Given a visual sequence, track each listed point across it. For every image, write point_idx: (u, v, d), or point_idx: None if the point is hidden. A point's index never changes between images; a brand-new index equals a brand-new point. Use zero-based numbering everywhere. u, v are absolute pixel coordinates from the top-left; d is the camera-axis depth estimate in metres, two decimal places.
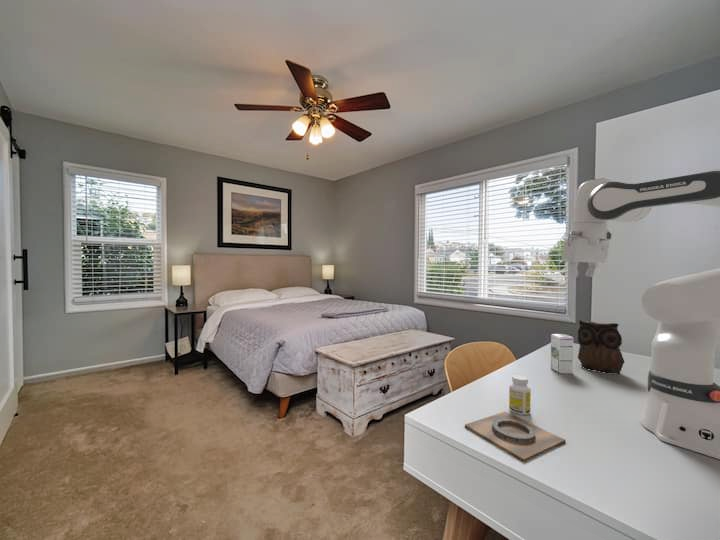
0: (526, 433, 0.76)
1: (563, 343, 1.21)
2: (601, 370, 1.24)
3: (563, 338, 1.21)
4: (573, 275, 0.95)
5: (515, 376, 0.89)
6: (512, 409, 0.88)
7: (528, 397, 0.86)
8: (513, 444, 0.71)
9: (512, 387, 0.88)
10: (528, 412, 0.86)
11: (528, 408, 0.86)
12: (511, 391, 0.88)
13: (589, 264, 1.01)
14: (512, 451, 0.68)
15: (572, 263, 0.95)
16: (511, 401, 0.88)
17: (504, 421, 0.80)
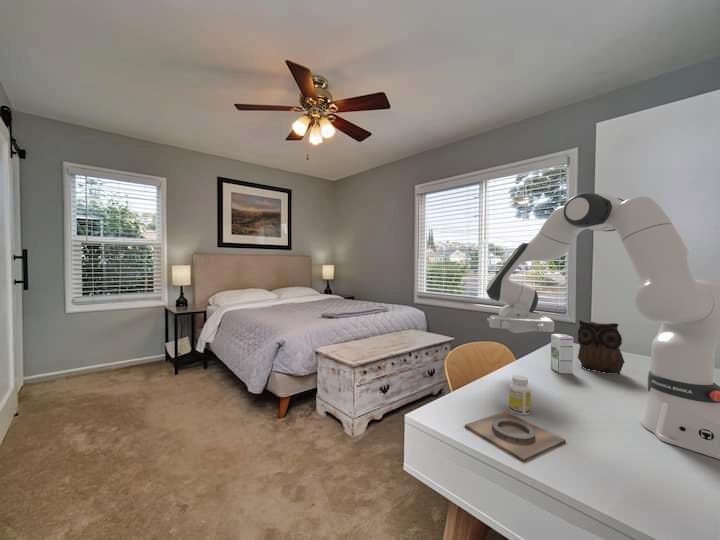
0: (526, 433, 0.76)
1: (563, 343, 1.21)
2: (601, 370, 1.24)
3: (563, 338, 1.21)
4: (506, 325, 1.03)
5: (515, 376, 0.89)
6: (512, 409, 0.88)
7: (528, 397, 0.86)
8: (513, 444, 0.71)
9: (512, 387, 0.88)
10: (528, 412, 0.86)
11: (528, 408, 0.86)
12: (511, 391, 0.88)
13: None
14: (512, 451, 0.68)
15: (501, 323, 1.07)
16: (511, 401, 0.88)
17: (504, 421, 0.80)
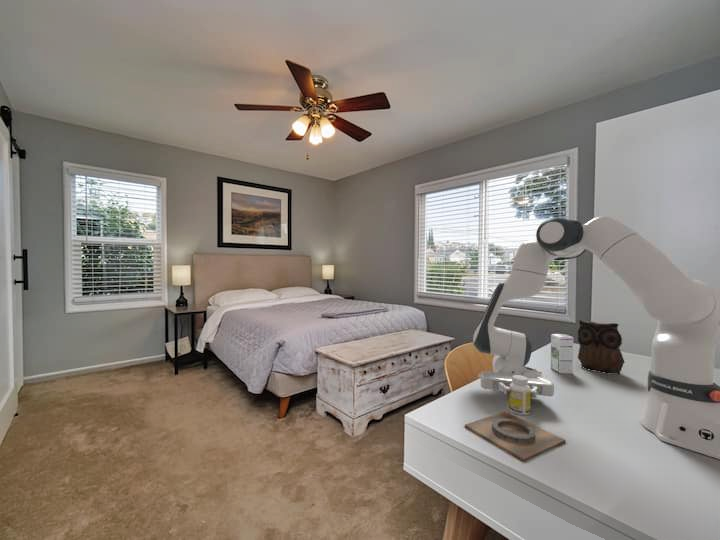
0: (526, 433, 0.76)
1: (563, 343, 1.21)
2: (601, 370, 1.24)
3: (563, 338, 1.21)
4: (504, 390, 0.89)
5: (515, 376, 0.89)
6: (512, 409, 0.88)
7: (528, 397, 0.86)
8: (513, 444, 0.71)
9: (512, 387, 0.88)
10: (528, 412, 0.86)
11: (528, 408, 0.86)
12: (511, 391, 0.88)
13: None
14: (512, 451, 0.68)
15: (498, 385, 0.93)
16: (511, 401, 0.88)
17: (504, 421, 0.80)
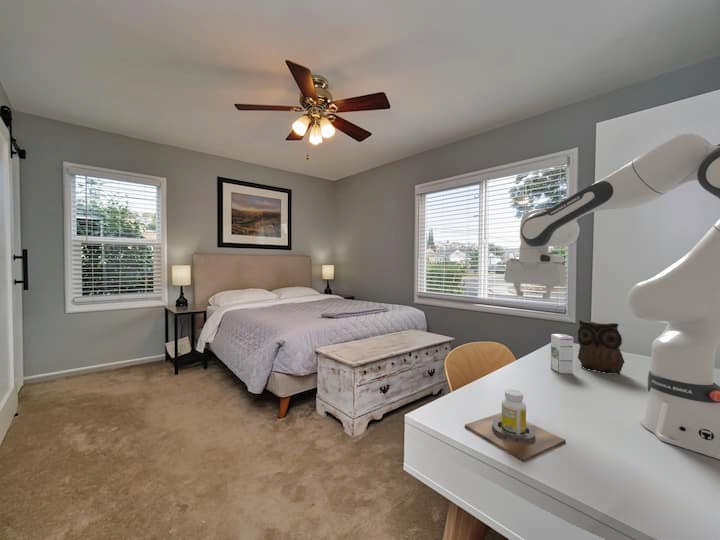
0: (526, 433, 0.76)
1: (563, 343, 1.21)
2: (601, 370, 1.24)
3: (563, 338, 1.21)
4: None
5: (508, 391, 0.77)
6: (505, 429, 0.75)
7: (523, 416, 0.74)
8: (513, 444, 0.71)
9: (505, 404, 0.76)
10: (523, 433, 0.74)
11: (523, 429, 0.74)
12: (503, 408, 0.76)
13: None
14: (512, 451, 0.68)
15: None
16: (503, 420, 0.76)
17: None
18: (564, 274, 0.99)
